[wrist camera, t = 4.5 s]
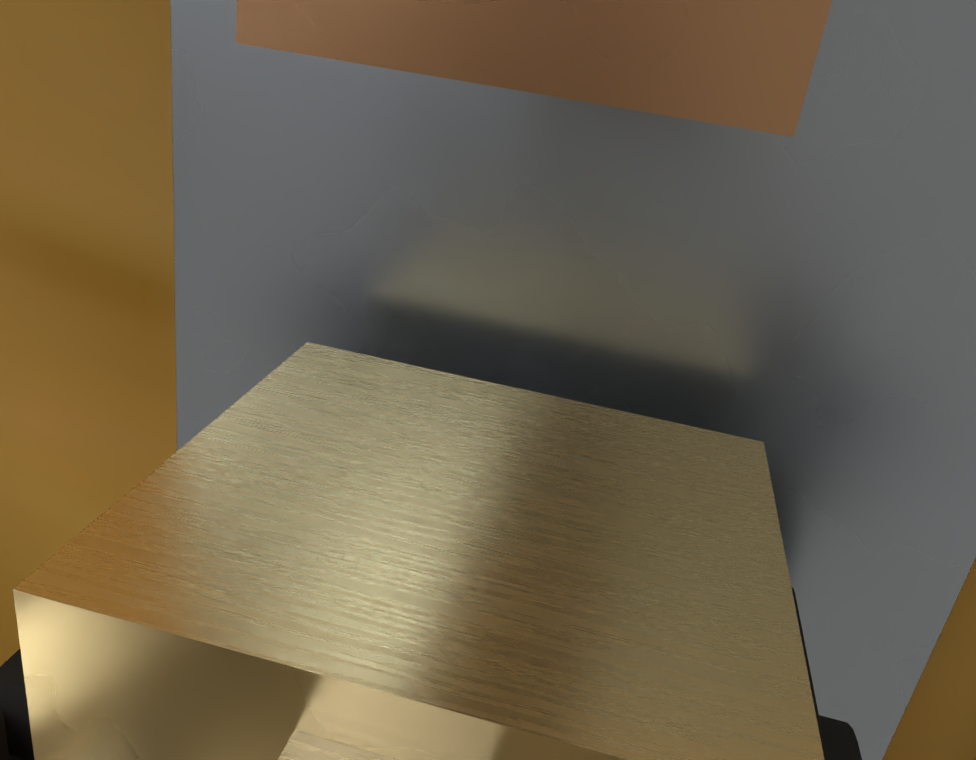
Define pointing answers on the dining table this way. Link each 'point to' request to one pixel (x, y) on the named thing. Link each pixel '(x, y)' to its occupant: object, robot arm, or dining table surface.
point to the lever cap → (424, 586)
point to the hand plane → (624, 249)
